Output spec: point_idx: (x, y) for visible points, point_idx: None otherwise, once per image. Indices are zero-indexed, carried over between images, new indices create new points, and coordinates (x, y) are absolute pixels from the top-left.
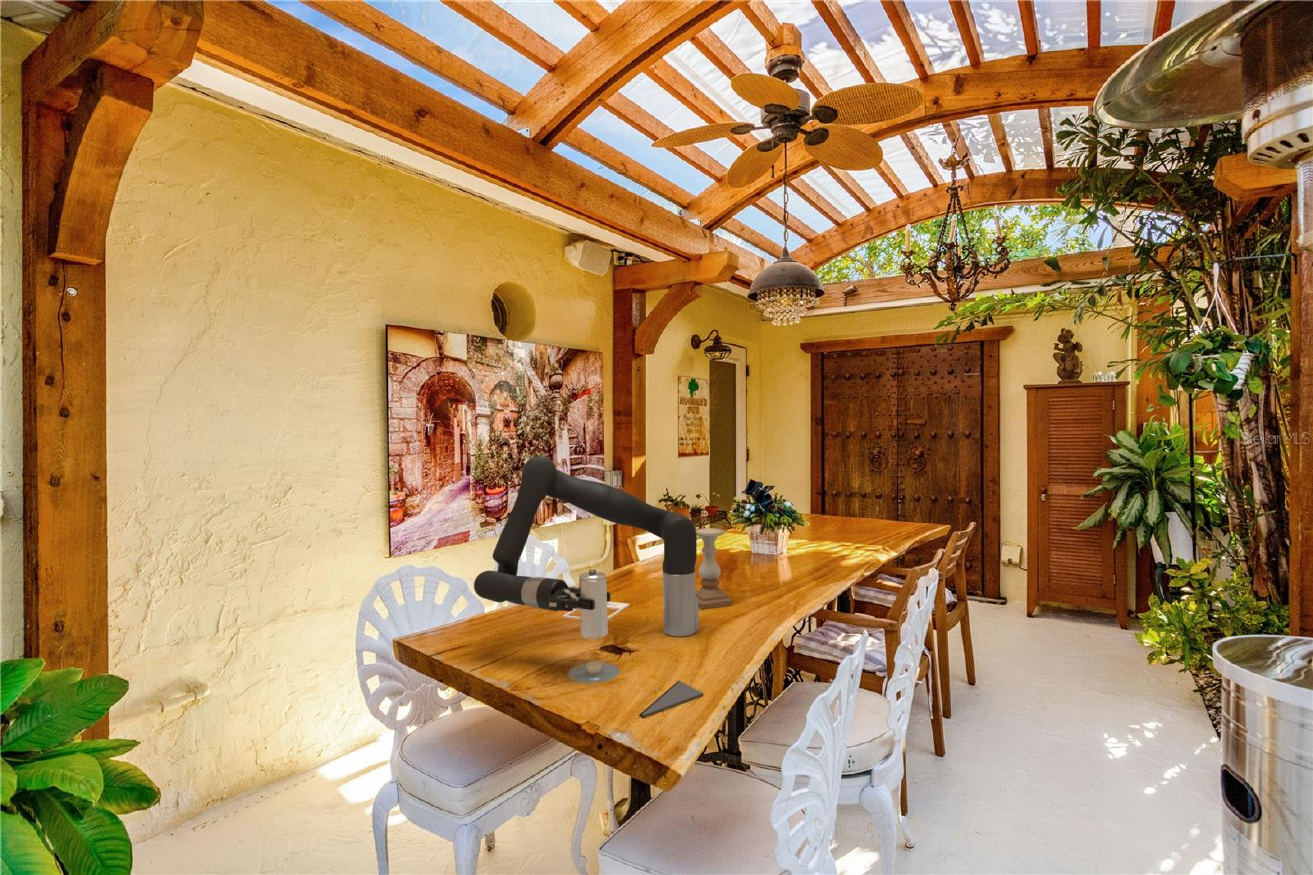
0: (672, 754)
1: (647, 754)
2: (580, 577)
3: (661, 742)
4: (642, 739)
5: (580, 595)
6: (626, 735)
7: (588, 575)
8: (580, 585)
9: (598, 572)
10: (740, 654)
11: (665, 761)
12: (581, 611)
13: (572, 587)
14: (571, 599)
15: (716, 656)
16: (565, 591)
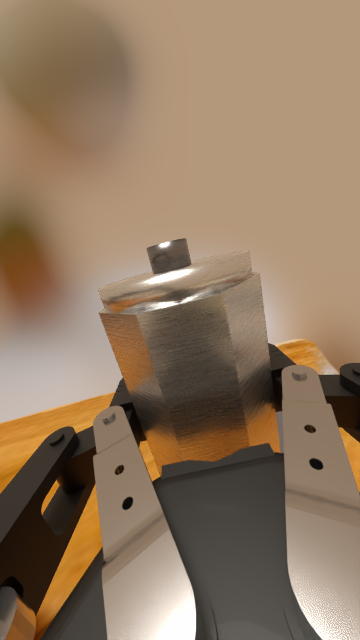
0: (298, 344)
1: (319, 350)
2: (246, 260)
3: (295, 355)
4: (310, 363)
5: (258, 379)
6: (323, 373)
7: (196, 263)
8: (255, 313)
9: (119, 282)
10: (72, 413)
11: (310, 341)
12: (274, 435)
13: (160, 579)
14: (345, 376)
15: (79, 429)
16: (358, 510)
